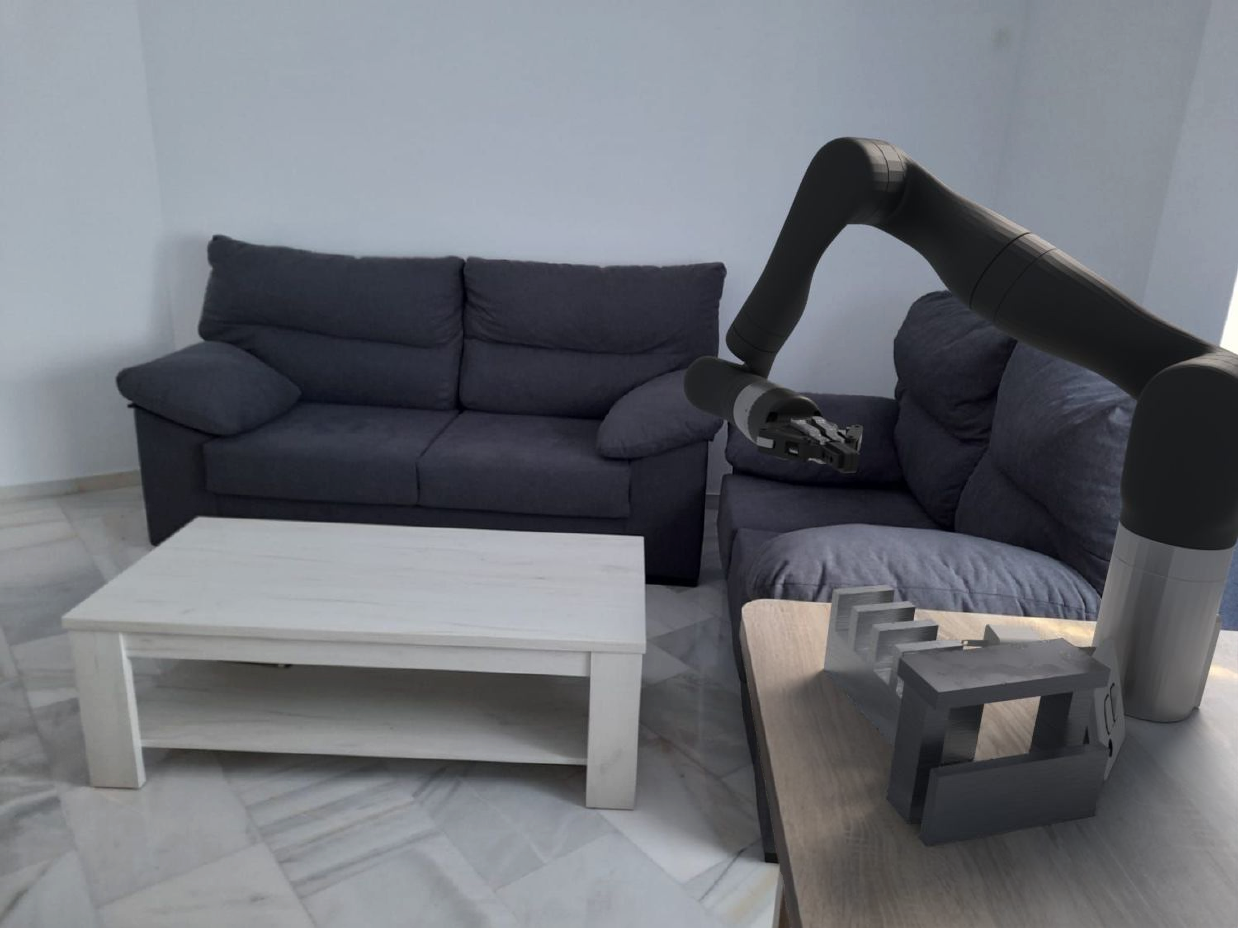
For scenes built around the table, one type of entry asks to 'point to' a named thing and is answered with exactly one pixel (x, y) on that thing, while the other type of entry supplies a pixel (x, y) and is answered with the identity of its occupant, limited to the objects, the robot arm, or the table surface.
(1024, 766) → the grey open box frame
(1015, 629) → the usb wall charger
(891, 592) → the heatsink block
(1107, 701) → the electrical switch
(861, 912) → the table surface
